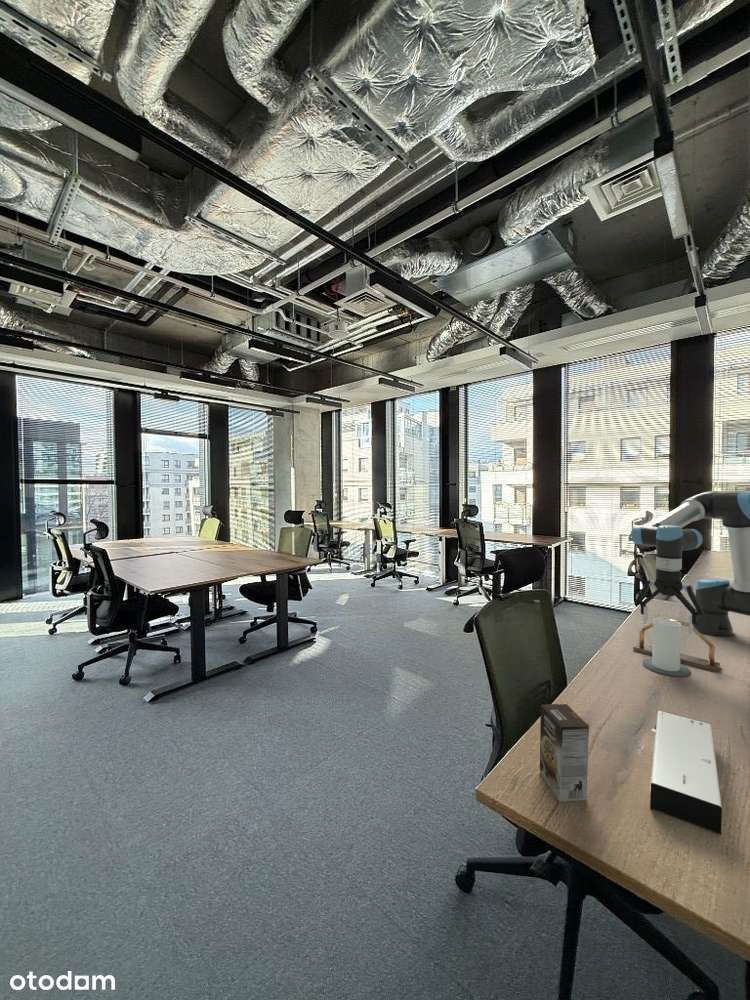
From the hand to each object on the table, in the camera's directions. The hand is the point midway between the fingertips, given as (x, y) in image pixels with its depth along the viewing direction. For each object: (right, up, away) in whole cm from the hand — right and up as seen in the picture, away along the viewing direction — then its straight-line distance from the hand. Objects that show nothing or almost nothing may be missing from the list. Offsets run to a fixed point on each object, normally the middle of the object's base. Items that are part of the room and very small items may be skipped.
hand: (667, 628), depth 152 cm
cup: (0, -14, 0) cm, 14 cm away
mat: (0, -14, 0) cm, 14 cm away
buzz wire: (+8, -14, +9) cm, 18 cm away
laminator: (-35, -17, -55) cm, 68 cm away
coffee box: (-64, -17, -59) cm, 89 cm away
